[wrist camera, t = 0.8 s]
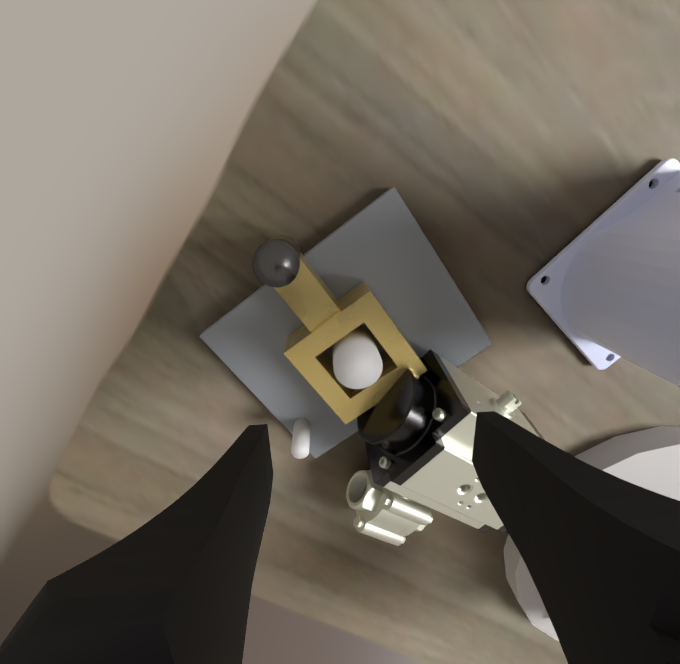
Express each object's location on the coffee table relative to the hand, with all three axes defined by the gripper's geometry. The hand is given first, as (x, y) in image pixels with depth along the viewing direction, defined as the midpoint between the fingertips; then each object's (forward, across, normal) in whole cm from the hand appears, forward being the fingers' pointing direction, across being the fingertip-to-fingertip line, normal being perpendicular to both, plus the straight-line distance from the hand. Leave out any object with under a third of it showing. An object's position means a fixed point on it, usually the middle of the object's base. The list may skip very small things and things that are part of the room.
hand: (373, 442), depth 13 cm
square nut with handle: (+9, +1, -2) cm, 9 cm away
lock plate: (+10, 0, 0) cm, 10 cm away
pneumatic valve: (+7, -1, +12) cm, 14 cm away
